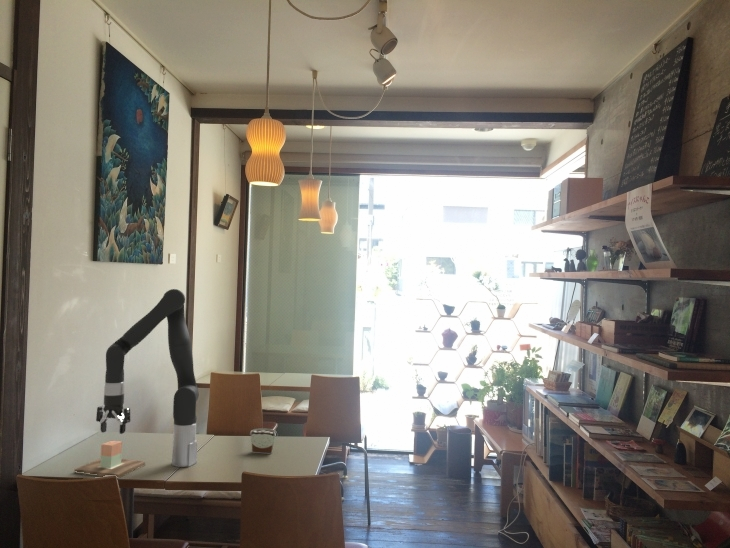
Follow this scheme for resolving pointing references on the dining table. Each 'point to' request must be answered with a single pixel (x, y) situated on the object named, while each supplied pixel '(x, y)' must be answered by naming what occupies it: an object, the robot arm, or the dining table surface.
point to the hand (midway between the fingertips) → (112, 432)
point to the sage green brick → (110, 461)
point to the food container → (262, 440)
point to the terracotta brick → (111, 448)
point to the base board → (117, 470)
